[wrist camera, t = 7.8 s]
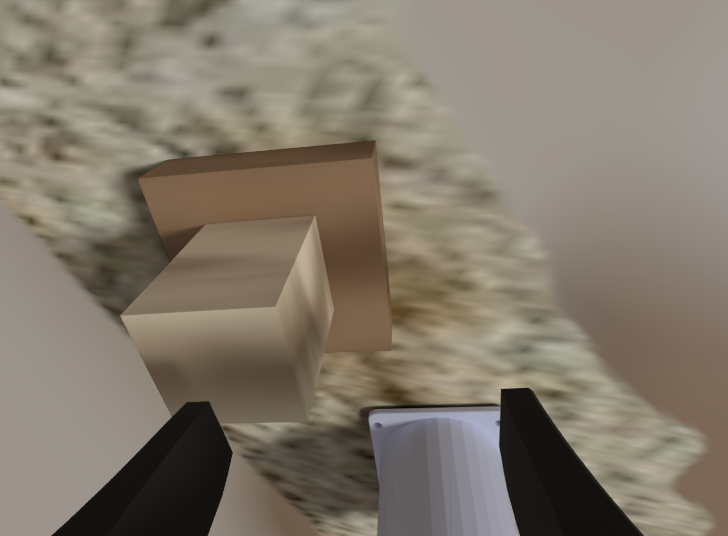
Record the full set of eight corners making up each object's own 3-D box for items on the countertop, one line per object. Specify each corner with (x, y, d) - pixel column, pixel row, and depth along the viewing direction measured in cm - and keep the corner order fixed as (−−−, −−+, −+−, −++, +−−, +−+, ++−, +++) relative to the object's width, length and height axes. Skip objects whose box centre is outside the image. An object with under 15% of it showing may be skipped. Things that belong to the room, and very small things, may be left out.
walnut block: (392, 311, 22) (391, 350, 20) (228, 318, 23) (206, 356, 21) (376, 137, 18) (371, 158, 15) (173, 156, 19) (137, 178, 16)
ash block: (334, 309, 19) (307, 421, 14) (236, 314, 19) (176, 424, 14) (315, 215, 16) (275, 306, 11) (205, 224, 17) (120, 315, 12)
